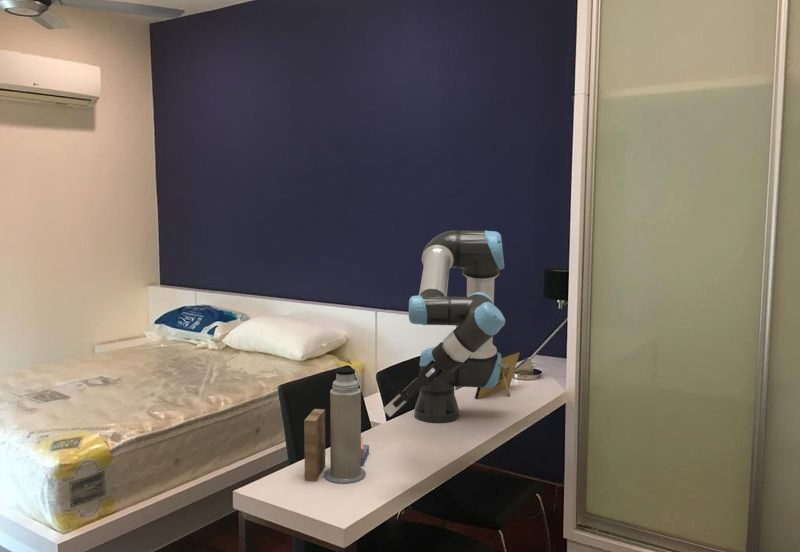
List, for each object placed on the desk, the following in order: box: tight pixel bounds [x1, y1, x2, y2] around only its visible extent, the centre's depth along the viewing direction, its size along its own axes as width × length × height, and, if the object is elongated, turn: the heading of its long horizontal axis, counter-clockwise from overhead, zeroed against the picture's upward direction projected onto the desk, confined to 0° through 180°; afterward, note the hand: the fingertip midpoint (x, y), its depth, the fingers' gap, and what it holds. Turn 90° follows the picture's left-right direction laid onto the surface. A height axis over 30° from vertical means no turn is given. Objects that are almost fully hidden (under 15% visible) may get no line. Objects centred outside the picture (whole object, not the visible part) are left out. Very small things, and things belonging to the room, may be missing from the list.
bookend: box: [303, 408, 326, 482], centre depth 181 cm, size 10×3×16 cm, turn 172°
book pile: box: [361, 437, 370, 466], centre depth 192 cm, size 10×8×5 cm
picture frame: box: [474, 350, 521, 400], centre depth 257 cm, size 23×9×15 cm, turn 141°
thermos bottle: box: [329, 367, 362, 479], centre depth 180 cm, size 8×8×28 cm
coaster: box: [323, 467, 367, 485], centre depth 181 cm, size 11×11×1 cm
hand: (395, 404), depth 178 cm, fingers open, 13 cm apart
